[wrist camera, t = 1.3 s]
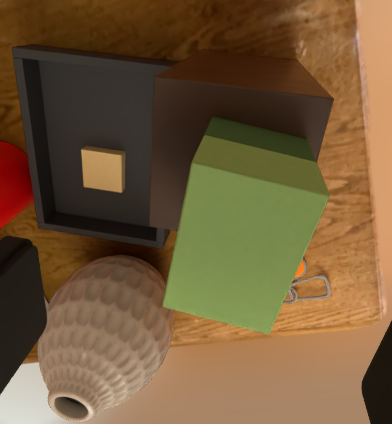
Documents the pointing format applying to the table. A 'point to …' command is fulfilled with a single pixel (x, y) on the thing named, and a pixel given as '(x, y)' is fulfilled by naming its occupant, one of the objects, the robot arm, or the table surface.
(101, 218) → the pan
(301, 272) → the key chain
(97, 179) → the tan square tile
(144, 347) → the vase
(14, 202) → the mug
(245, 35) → the table surface
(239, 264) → the sponge
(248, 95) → the stand
